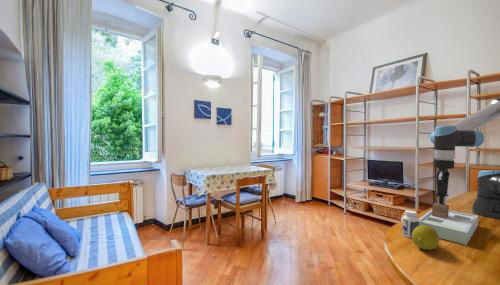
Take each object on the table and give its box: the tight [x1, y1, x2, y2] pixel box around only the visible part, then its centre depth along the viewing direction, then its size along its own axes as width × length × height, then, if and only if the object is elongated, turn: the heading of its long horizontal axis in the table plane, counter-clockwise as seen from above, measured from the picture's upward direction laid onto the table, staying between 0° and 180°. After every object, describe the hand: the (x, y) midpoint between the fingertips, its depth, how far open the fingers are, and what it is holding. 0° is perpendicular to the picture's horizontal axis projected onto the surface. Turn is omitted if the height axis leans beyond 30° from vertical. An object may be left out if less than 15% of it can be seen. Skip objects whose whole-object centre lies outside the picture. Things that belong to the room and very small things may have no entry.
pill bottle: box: [401, 209, 419, 239], centre depth 97 cm, size 5×5×10 cm
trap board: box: [418, 208, 479, 246], centre depth 106 cm, size 30×16×5 cm, turn 131°
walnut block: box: [431, 202, 450, 219], centre depth 110 cm, size 5×5×5 cm
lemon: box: [411, 225, 440, 251], centre depth 87 cm, size 11×8×8 cm
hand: (441, 210), depth 112 cm, fingers closed
